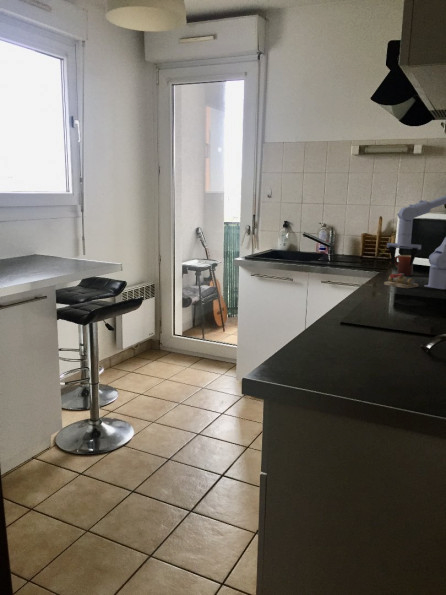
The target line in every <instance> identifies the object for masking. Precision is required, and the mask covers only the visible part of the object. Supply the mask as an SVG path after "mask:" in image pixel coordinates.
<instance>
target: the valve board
mask: <svg viewBox="0 0 446 595" xmlns="http://www.w3.org/2000/svg"><path fill="white" fill-rule="evenodd" d="M415 282H416V281H415V279H414V278H410V277H409V278H408V276H398V277H397V278H391V277H390V276H389V277H388V281H384V282H383V285H385V286H391V287H396V288H397V287H398V288H402V289H411V288H412V289H413V288H416V287H417V288H418V287H419V283H415Z"/></svg>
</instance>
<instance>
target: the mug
mask: <svg viewBox="0 0 446 595" xmlns="http://www.w3.org/2000/svg"><path fill="white" fill-rule="evenodd" d="M415 258H416V257H415ZM415 258H414V260H413V263H412V265H410V260H411V254H398V255H395V264H394V265H395V267H396V268H397V270H396V271H397V274H400V273H404V277H410V276H412V274H413V272H414V270H413V269H414V261H415Z"/></svg>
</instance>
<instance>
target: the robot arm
mask: <svg viewBox="0 0 446 595" xmlns="http://www.w3.org/2000/svg"><path fill="white" fill-rule="evenodd" d="M444 205H446V194H445V195H442V196H440V197H438V198H435V199H433V200H430V201H427V200H423V199H421V200H419V201H418V202H417V203H414V204H409V205H408V207H406V206H404V207H402V208H400V209H399V211H398V212H397V216H398V220H399V223H398V230H397V231H398V232H397V242H395V243H394V242H387V243H386V248H388V252H389V255H390V257H391V264H392V265H395V257H396V251H397V249H409V250H410V255H411V260H410V265H412V263H413V264H414V261H415V259H414V258H416V256H417V253H418V252H419V250H420V251H421V250H422V244H414V243H412V233H413V222H414V219H415V218H418V217H421V216H423V215H427V214H428V213H430V212H431V211H432V209H435V208H438V207H441V206H444ZM413 260H414V261H413ZM428 263H429V265H430V266H429V274H428V284H424V287H425V288H430V289H436V290H437V289H438V290H446V236H445V237H444V239H443V241H442V243H441V244H440V245H439V246H438V247H436V248H435V250H434V252H432V253H431V254H430V255H429V257H428Z"/></svg>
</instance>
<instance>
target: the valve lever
mask: <svg viewBox="0 0 446 595" xmlns="http://www.w3.org/2000/svg"><path fill="white" fill-rule="evenodd" d="M398 276H404V273H400V274H398V273H391V274H389V277H391V278H397V277H398ZM404 277H405V276H404Z"/></svg>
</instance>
